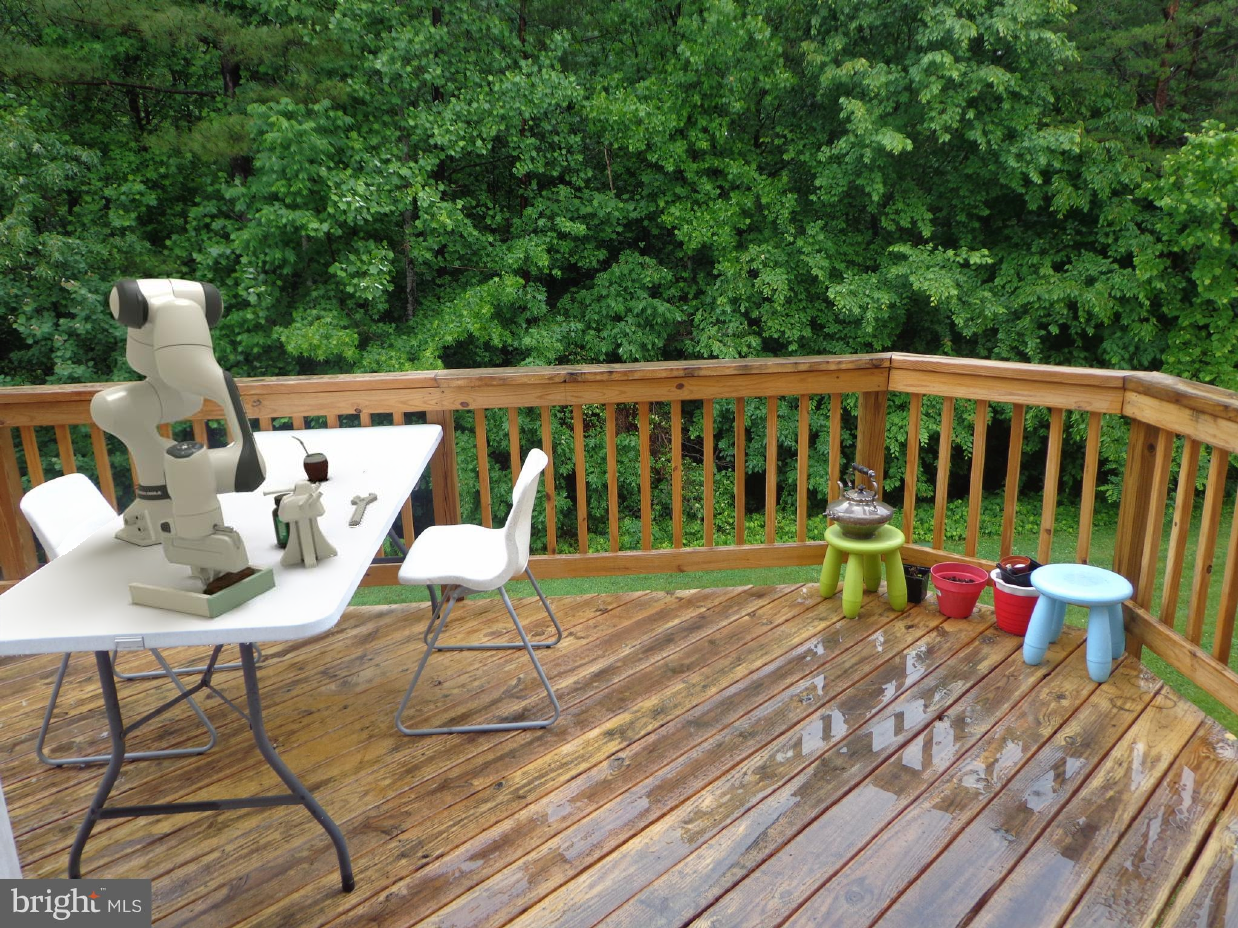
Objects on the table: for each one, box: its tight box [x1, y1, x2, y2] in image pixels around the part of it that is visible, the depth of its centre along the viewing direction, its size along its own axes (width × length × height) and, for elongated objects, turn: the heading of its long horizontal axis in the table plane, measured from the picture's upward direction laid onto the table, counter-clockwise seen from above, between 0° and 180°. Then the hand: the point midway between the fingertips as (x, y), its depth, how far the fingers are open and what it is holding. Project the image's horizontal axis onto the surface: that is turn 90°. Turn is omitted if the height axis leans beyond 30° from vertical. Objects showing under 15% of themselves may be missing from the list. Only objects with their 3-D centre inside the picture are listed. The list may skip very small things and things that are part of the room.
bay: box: [128, 564, 276, 619], centre depth 179 cm, size 23×16×4 cm
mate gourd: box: [291, 435, 329, 485], centre depth 256 cm, size 8×8×15 cm
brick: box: [202, 567, 254, 596], centre depth 177 cm, size 11×4×5 cm, turn 163°
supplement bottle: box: [271, 492, 292, 549], centre depth 205 cm, size 7×7×12 cm
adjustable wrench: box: [348, 492, 378, 527], centre depth 228 cm, size 25×6×2 cm, turn 4°
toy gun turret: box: [262, 480, 339, 569], centre depth 194 cm, size 12×13×18 cm
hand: (212, 586), depth 178 cm, fingers closed
